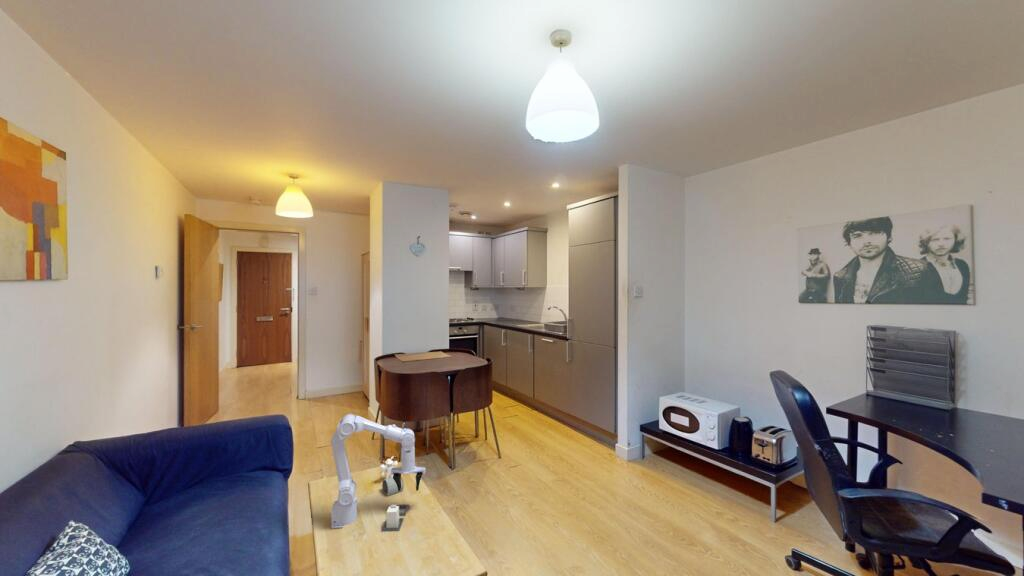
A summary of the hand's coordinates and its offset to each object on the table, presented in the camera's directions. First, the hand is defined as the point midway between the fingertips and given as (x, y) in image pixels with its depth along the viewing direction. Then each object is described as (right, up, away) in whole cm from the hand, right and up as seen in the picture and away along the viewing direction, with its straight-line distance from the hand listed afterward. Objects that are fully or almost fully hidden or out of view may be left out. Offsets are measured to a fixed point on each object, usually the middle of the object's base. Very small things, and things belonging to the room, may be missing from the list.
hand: (408, 489), depth 172 cm
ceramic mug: (-13, -10, +16) cm, 23 cm away
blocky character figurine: (-17, -10, +27) cm, 33 cm away
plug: (-4, -9, -11) cm, 14 cm away
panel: (-4, -10, -6) cm, 12 cm away
